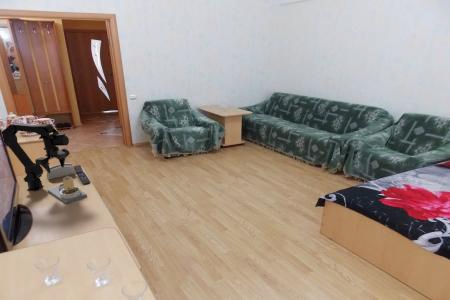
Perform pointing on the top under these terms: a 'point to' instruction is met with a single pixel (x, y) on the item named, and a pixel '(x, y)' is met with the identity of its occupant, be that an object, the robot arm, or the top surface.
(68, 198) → the board
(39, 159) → the robot arm
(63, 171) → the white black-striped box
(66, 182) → the gold pepper grinder
